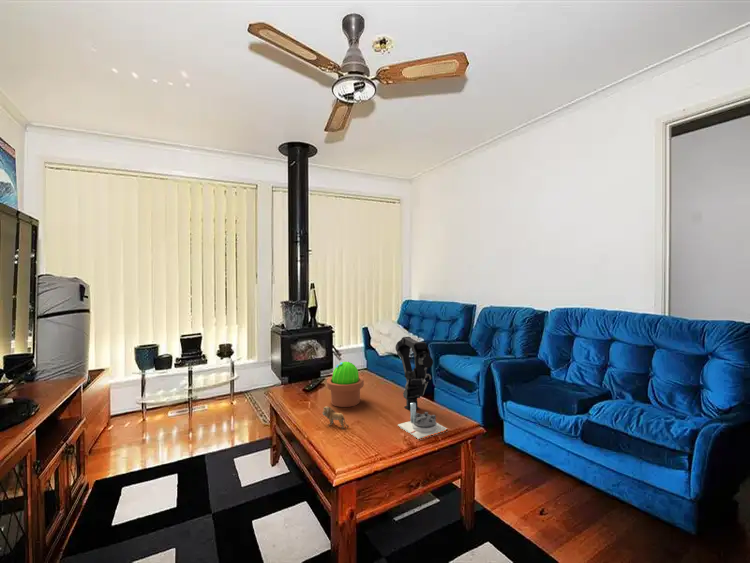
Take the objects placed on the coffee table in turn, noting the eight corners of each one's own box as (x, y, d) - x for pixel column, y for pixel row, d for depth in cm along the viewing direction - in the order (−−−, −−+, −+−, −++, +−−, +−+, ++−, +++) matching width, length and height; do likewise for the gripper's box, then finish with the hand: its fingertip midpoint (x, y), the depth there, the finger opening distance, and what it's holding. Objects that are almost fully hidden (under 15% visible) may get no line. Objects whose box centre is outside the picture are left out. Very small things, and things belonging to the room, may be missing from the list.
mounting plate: (397, 426, 178) (397, 420, 178) (426, 418, 187) (426, 413, 187) (418, 440, 163) (418, 433, 163) (447, 430, 172) (447, 424, 172)
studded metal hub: (423, 416, 182) (423, 393, 182) (440, 423, 174) (440, 399, 173) (403, 424, 173) (402, 400, 172) (420, 432, 164) (420, 407, 164)
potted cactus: (366, 396, 222) (365, 356, 222) (361, 409, 200) (360, 365, 200) (331, 395, 224) (331, 356, 224) (323, 408, 203) (322, 365, 202)
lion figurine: (320, 425, 181) (320, 407, 180) (326, 421, 186) (325, 404, 185) (346, 429, 175) (346, 411, 175) (351, 425, 180) (351, 407, 180)
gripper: (411, 363, 200) (412, 391, 198) (400, 367, 183) (401, 398, 181) (430, 363, 196) (432, 392, 194) (420, 368, 179) (422, 399, 177)
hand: (422, 395), depth 187 cm, fingers closed
